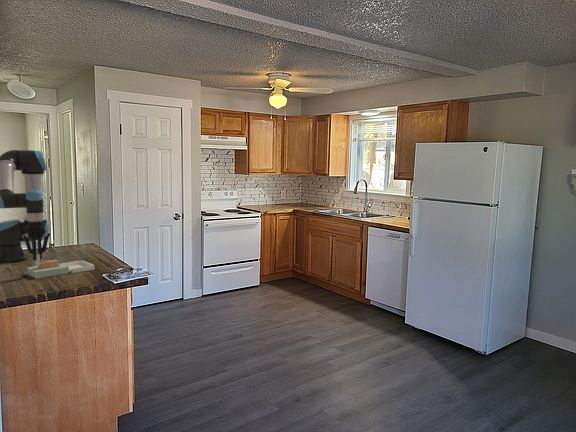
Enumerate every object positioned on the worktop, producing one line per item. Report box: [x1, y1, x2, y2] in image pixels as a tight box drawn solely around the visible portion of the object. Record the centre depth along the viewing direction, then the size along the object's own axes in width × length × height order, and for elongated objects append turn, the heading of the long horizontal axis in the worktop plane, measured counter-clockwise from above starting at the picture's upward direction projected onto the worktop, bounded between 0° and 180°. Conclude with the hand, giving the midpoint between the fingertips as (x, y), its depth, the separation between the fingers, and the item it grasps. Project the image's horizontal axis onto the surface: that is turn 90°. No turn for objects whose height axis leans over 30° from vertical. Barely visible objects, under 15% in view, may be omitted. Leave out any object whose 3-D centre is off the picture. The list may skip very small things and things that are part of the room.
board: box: [26, 262, 70, 280], centre depth 228 cm, size 13×16×4 cm
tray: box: [60, 259, 96, 275], centre depth 239 cm, size 16×13×2 cm
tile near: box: [38, 260, 50, 269], centre depth 226 cm, size 4×4×3 cm
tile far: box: [48, 259, 60, 268], centre depth 230 cm, size 4×4×3 cm
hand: (37, 265), depth 224 cm, fingers closed
